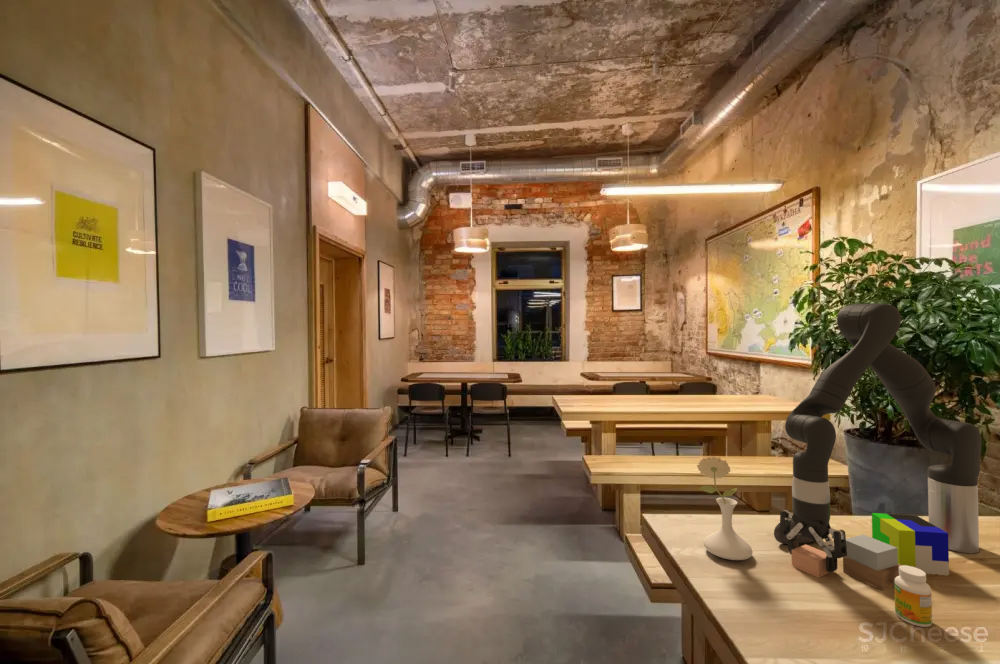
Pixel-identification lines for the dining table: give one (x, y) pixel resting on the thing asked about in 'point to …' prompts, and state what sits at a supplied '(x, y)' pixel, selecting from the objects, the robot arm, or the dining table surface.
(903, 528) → the puzzle toy
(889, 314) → the robot arm
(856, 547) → the tower top
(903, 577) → the supplement bottle
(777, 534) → the perforated stone tool
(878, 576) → the tower base
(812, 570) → the clay block
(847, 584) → the dining table surface
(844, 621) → the dining table surface
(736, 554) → the flower in vase
